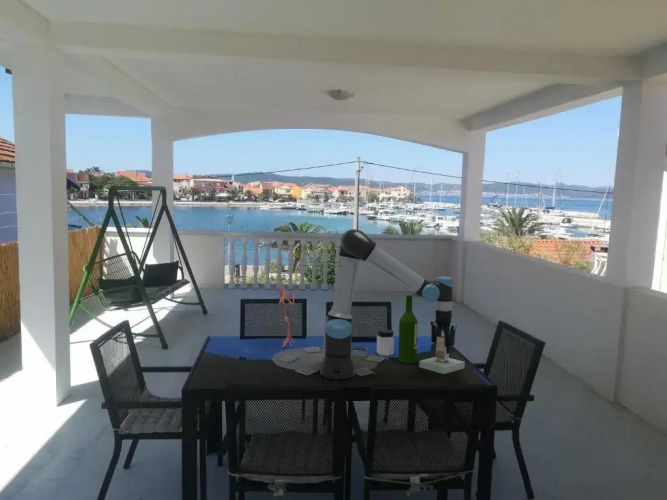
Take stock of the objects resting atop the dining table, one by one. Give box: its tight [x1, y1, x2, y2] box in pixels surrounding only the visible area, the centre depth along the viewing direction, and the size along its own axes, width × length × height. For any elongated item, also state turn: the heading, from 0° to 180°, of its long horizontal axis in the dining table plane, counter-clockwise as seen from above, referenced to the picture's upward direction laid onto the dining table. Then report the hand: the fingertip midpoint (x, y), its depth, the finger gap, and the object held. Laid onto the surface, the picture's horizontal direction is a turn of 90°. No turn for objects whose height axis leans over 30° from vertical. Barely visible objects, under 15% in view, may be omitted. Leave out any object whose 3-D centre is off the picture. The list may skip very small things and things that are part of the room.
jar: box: [376, 328, 395, 357], centre depth 253 cm, size 9×8×12 cm
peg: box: [435, 335, 448, 363], centre depth 229 cm, size 4×4×12 cm
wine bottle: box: [397, 294, 419, 365], centre depth 239 cm, size 9×9×32 cm
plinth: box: [418, 356, 466, 375], centre depth 230 cm, size 16×14×3 cm
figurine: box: [267, 281, 296, 350], centre depth 266 cm, size 15×26×35 cm, turn 0°
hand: (442, 358), depth 230 cm, fingers closed on peg, 4 cm apart
